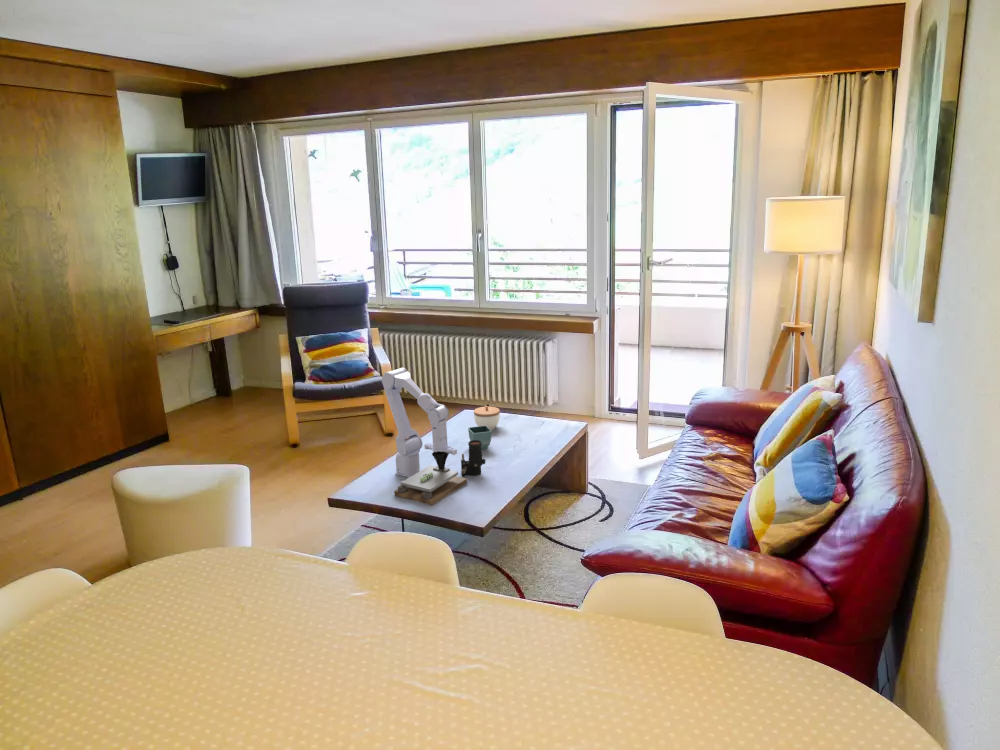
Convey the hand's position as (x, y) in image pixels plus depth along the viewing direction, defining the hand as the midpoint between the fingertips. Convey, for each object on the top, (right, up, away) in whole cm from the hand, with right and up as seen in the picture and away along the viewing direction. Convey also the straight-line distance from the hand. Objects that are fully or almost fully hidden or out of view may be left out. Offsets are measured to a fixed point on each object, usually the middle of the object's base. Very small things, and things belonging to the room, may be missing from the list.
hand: (441, 468), depth 281 cm
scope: (+12, -4, +9) cm, 16 cm away
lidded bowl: (+17, +11, +64) cm, 67 cm away
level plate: (-4, -4, -6) cm, 8 cm away
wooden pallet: (-4, -8, -4) cm, 9 cm away
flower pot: (+14, +4, +38) cm, 41 cm away
